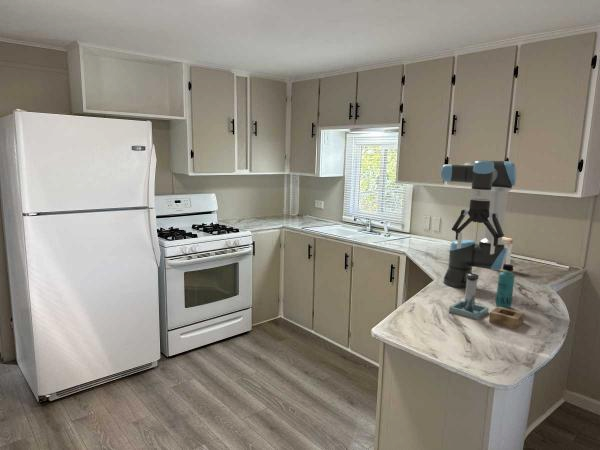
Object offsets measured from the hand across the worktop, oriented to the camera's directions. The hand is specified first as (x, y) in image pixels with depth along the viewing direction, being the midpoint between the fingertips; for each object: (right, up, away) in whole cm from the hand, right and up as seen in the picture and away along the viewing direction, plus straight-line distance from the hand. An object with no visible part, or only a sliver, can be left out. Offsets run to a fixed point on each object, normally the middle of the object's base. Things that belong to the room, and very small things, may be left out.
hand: (475, 250), depth 176 cm
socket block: (+10, -29, -6) cm, 31 cm away
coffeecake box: (+46, -16, +84) cm, 97 cm away
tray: (-1, -27, +4) cm, 27 cm away
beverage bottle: (+18, -27, +13) cm, 34 cm away
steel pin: (-1, -26, +4) cm, 26 cm away
